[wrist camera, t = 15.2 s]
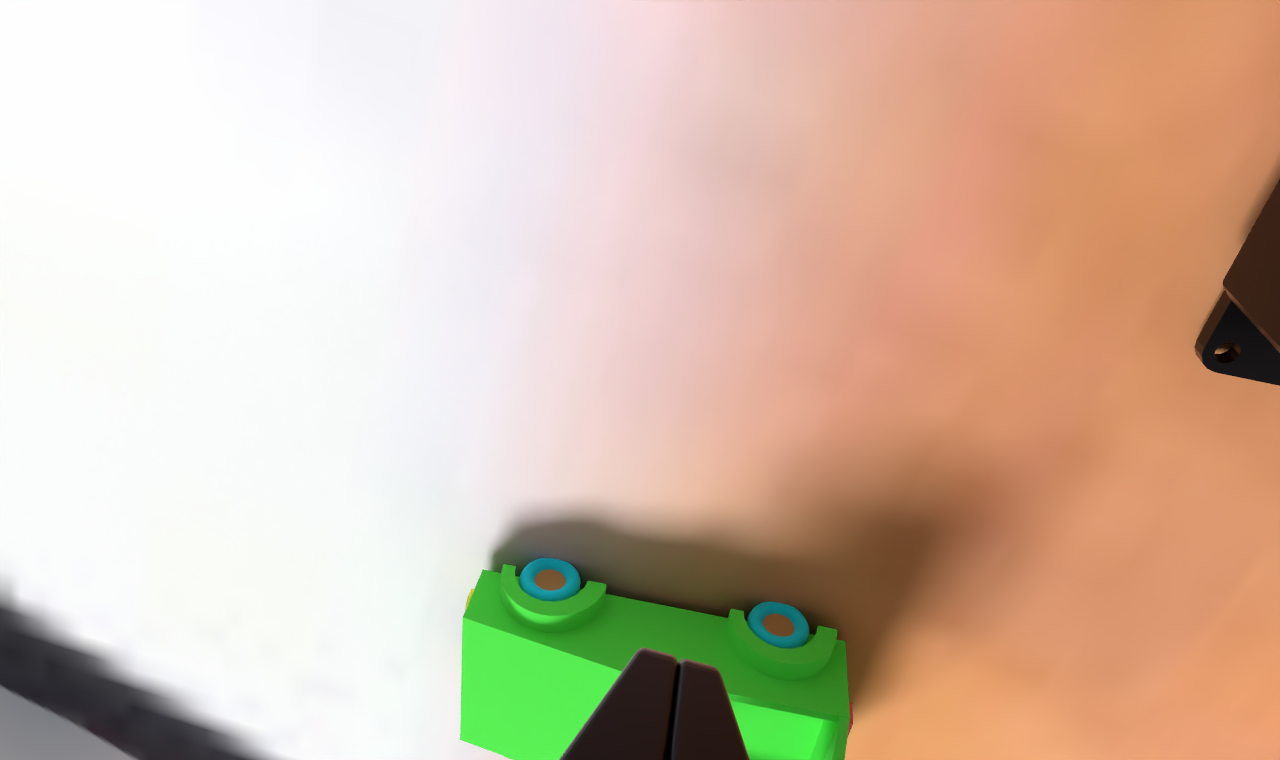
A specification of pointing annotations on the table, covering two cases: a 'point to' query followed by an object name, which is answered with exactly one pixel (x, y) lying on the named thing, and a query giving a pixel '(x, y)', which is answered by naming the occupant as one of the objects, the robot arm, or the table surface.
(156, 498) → the table surface
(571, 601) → the toy car
